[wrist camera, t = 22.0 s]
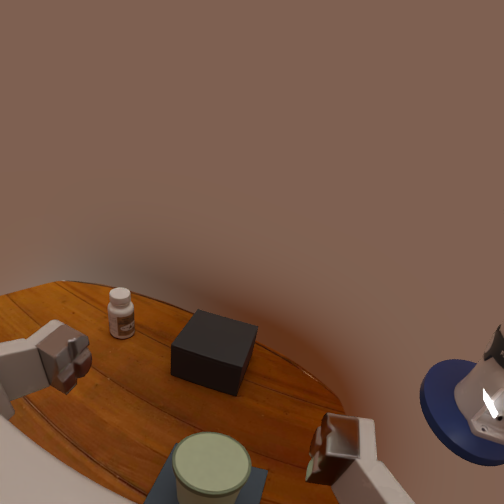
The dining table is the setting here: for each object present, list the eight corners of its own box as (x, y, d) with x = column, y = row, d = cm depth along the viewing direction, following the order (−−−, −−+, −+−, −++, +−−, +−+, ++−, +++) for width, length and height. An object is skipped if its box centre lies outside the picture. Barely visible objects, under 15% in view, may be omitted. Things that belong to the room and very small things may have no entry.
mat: (266, 473, 28) (268, 470, 28) (244, 552, 18) (245, 550, 18) (176, 446, 30) (175, 442, 30) (138, 517, 20) (137, 514, 19)
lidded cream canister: (250, 500, 24) (267, 466, 21) (201, 531, 19) (206, 507, 16) (209, 462, 28) (216, 420, 25) (162, 488, 23) (156, 450, 20)
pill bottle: (124, 343, 45) (121, 303, 42) (104, 332, 46) (101, 293, 43) (139, 330, 49) (138, 292, 46) (121, 320, 50) (119, 283, 47)
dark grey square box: (251, 354, 49) (258, 326, 47) (236, 396, 40) (242, 367, 37) (195, 337, 50) (197, 309, 48) (170, 374, 41) (171, 344, 39)
